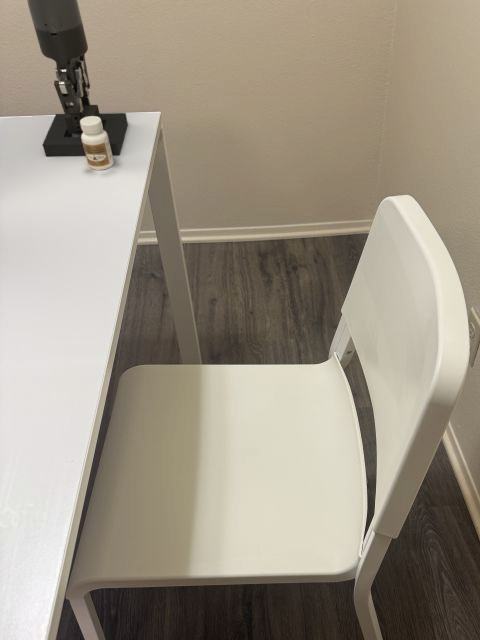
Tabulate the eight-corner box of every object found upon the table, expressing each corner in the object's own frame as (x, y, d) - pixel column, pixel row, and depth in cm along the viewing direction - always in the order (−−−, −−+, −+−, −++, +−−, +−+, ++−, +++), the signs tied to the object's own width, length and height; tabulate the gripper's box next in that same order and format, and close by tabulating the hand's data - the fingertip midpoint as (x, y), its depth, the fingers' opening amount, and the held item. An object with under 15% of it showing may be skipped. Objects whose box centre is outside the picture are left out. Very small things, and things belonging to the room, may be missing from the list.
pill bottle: (86, 170, 105) (74, 126, 99) (91, 158, 108) (79, 114, 102) (111, 170, 105) (101, 126, 100) (116, 158, 108) (106, 114, 102)
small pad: (68, 134, 109) (64, 117, 107) (74, 121, 112) (69, 104, 110) (97, 133, 109) (93, 117, 107) (101, 121, 113) (97, 104, 110)
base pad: (45, 156, 108) (42, 144, 107) (59, 125, 116) (55, 113, 114) (119, 155, 109) (116, 143, 107) (128, 124, 117) (125, 112, 115)
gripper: (43, 5, 102) (71, 108, 115) (23, 37, 93) (55, 145, 106) (88, 5, 102) (111, 108, 115) (72, 36, 93) (99, 144, 106)
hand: (84, 125), depth 110 cm, fingers closed on small pad, 5 cm apart
